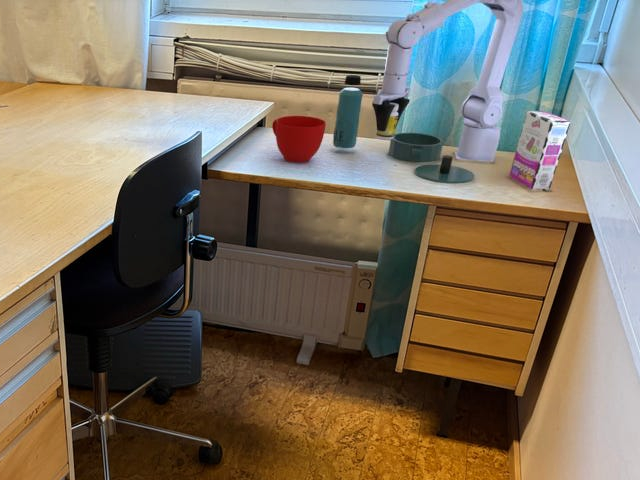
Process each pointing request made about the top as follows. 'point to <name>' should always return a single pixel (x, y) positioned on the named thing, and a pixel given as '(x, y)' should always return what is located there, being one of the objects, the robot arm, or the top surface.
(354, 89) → the beverage bottle
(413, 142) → the pot
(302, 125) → the ceramic cup
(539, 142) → the candy bar box
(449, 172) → the lid
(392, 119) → the supplement bottle
